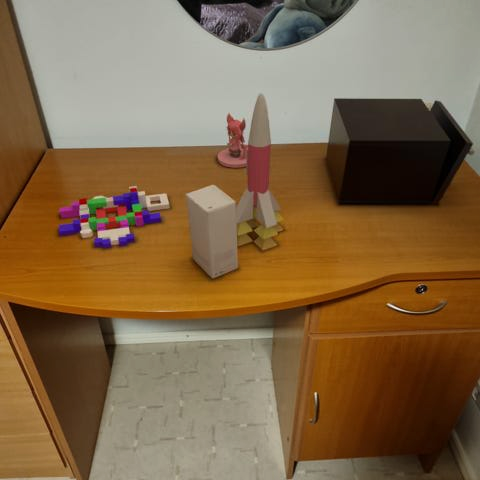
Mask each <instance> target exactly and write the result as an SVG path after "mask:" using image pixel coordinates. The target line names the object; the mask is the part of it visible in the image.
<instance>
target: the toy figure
mask: <svg viewBox="0 0 480 480" xmlns="http://www.w3.org/2000/svg"><path fill="white" fill-rule="evenodd" d="M226 123H227V126H226V127H225V129H226V131H227V135H228V142H227V143H226V146H227V147H228V148H226V149H222V150H221V151H219V152H218V154H217V162H218V163H219V164H220V165H222V166H224V167H228V168H234V169H237V168H238V169H239V168H243V167H246V158H247V148H248V145H246V144H245V143H246V141H245V137H244V131H245V129H246V127H247V123H246V119H245V117H243V118H242V121H240V120H239V119H234V117H232V115H231V114H230V113H228V114H227V115H226Z"/></svg>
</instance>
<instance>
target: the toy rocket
mask: <svg viewBox="0 0 480 480" xmlns="http://www.w3.org/2000/svg"><path fill="white" fill-rule="evenodd" d="M249 128H250V129H249V135H248V142H247V158H246V166H245V167H246V168H245V170H246V171H245V175H246V176H247V186H246V188H245V189H244V192H243V193H242V196H241V198H240V199H239V201H238V204H237V205H236V229H237V247H240V246H244V245H246V244H249V243H252V242H253V243H254V244H255V245H256V246H257V247H258V248H260V249H261V250H262V251H265V250H269V249H270V248H273V247H276V246H278V244H277V243H276V241H274V239H273V238H272V237H274V236H275V237H276V236H277V235H279V232H281V231H284V228H283V227H282V225H280V223H279V222H282V221H284V220H285V219H284V218H283V217H282V216H281V214H280V213H279V211H280V210H282V208H281V206H280V204H279V203H278V201H277V200H276V198H275V196H274V195H273V193H272V191H271V190H270V186H269V185H270V169H271V149H272V139H271V128H270V119H269V112H268V105H267V101H266V98H265V95H264V94H263V93H262V92H261V93H259V94H258V96H257V97H256V101H255V104H254V108H253V113H252V117H251V122H250V127H249ZM256 220H257V221H258V222H259V223H260V225H259V224H258V223H257V221H256ZM250 232H255V233H256V234H257V235H258V236H257V238H256V239H254V240H253V239H252V237H250V236H249V234H248V233H250Z"/></svg>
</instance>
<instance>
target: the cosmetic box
mask: <svg viewBox="0 0 480 480" xmlns="http://www.w3.org/2000/svg"><path fill="white" fill-rule="evenodd" d="M185 201H186V208H187V218H188V227H189V233H190V234H189V235H190V241H191V250H192V259H193V261H194V262H195V263H196V264H197V265H198V266H199V267H200V268H202V270H203V271H204V272H205V273H206V274H207V275H208V276H209V277H210V278H211V279H216V278H218V277H221V276H223V275H226V274H228V273H230V272H233V271H234V270H237V269H238V268H239V258H238V256H239V255H238V246H237V229H236V208H237V203H236V201H235V199H233V198H231V197H230V196H229V195H228V194H226V193H225V192H224V191H223V190H222V189H220V188H219V187H218V186H217V185H215V184H210V185H208V186H205V187H201V188H200V189H199V188H198V189H197V190H194V191H190V192H187V193H185Z"/></svg>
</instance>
